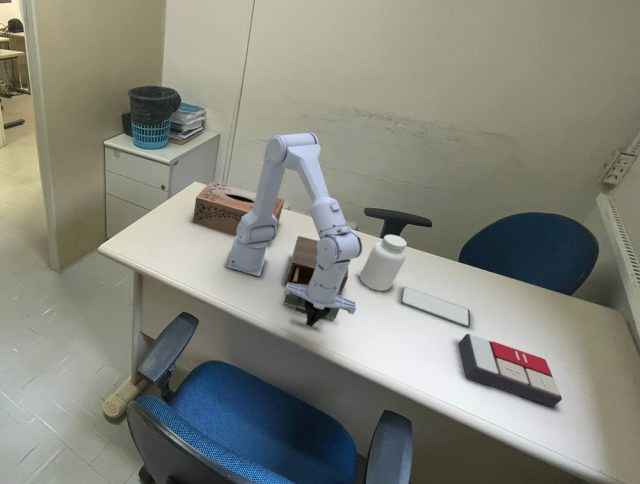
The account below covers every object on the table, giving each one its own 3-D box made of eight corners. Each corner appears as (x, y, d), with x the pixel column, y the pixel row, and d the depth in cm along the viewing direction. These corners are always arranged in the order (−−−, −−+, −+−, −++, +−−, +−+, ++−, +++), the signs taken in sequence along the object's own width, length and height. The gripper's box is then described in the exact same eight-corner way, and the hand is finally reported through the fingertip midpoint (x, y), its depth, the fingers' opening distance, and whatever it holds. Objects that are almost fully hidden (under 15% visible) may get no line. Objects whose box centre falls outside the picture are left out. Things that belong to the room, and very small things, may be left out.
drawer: (334, 332, 96) (342, 314, 93) (280, 315, 101) (286, 296, 97) (337, 288, 109) (344, 270, 106) (289, 274, 114) (295, 257, 110)
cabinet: (338, 300, 107) (347, 277, 102) (285, 284, 112) (292, 262, 107) (340, 270, 117) (349, 248, 112) (291, 257, 122) (298, 235, 117)
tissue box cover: (277, 224, 137) (284, 199, 132) (267, 245, 127) (273, 219, 121) (208, 204, 148) (211, 180, 143) (192, 222, 138) (196, 197, 132)
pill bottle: (394, 293, 109) (417, 250, 101) (363, 289, 111) (383, 246, 102) (385, 275, 116) (405, 233, 107) (355, 271, 117) (374, 229, 109)
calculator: (566, 398, 79) (476, 365, 85) (551, 409, 82) (465, 377, 87) (548, 357, 87) (467, 330, 93) (535, 369, 90) (458, 342, 95)
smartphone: (470, 326, 99) (401, 301, 106) (469, 327, 99) (400, 302, 106) (469, 309, 104) (403, 286, 111) (468, 311, 104) (403, 288, 111)
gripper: (289, 281, 86) (275, 324, 93) (363, 302, 80) (342, 346, 88) (293, 262, 91) (279, 304, 99) (363, 281, 86) (343, 324, 93)
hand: (309, 323), depth 94 cm, fingers closed
